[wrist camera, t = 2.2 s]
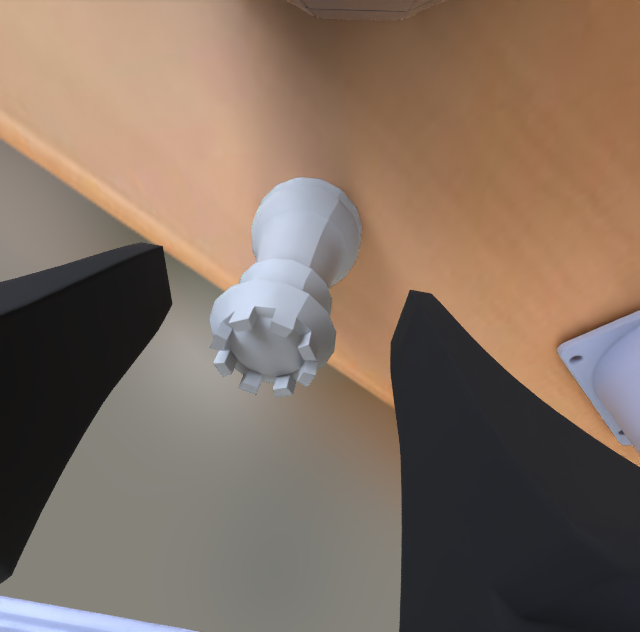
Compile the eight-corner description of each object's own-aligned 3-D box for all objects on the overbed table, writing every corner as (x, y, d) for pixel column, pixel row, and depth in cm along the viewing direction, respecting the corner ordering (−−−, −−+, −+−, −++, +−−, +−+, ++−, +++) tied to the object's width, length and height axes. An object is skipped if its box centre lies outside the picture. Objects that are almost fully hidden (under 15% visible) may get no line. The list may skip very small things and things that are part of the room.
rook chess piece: (295, 147, 12) (219, 232, 6) (385, 221, 13) (402, 357, 7) (240, 236, 15) (142, 365, 8) (320, 291, 16) (290, 440, 9)
